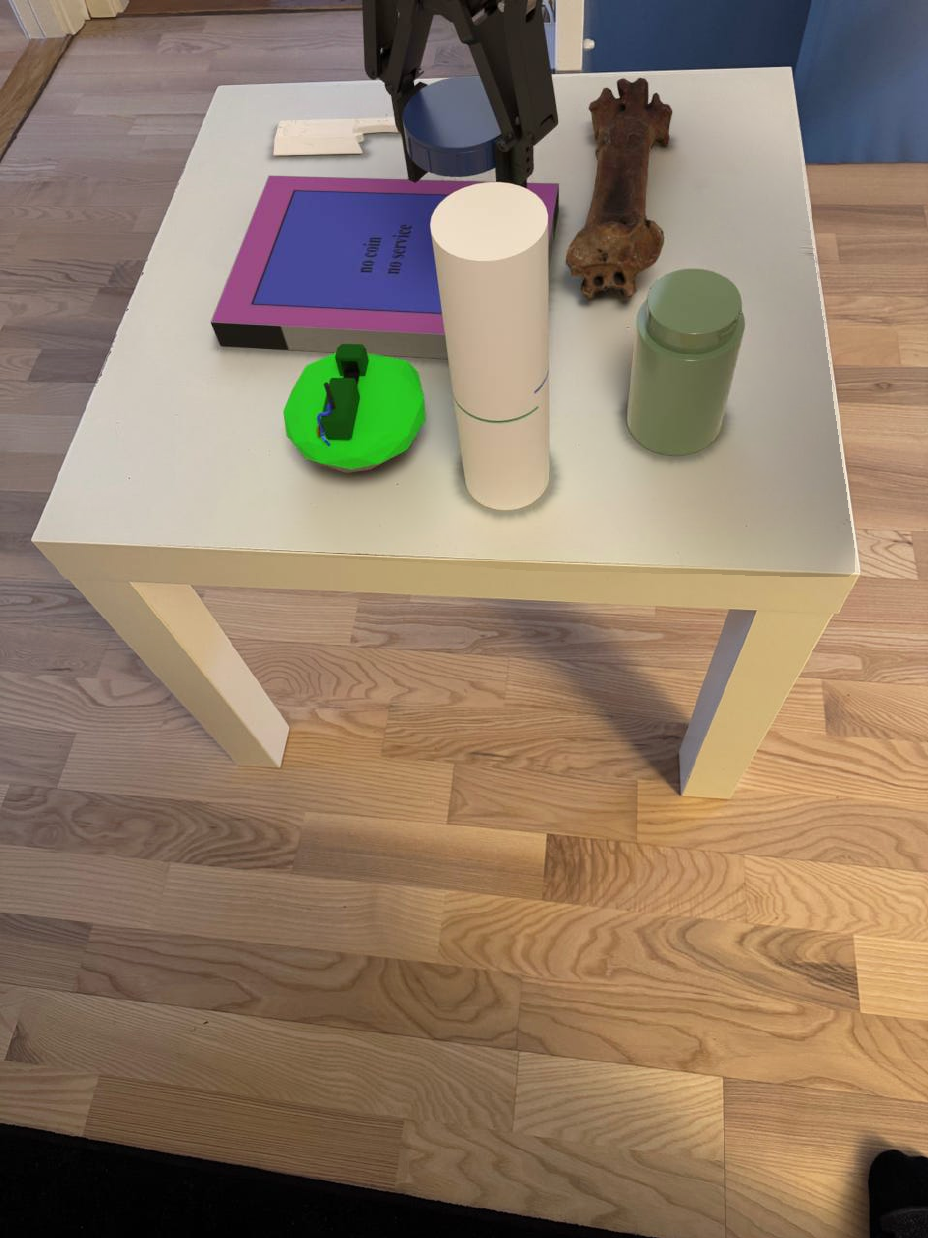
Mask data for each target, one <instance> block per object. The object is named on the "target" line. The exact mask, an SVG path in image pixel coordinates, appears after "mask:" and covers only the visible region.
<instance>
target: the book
mask: <svg viewBox="0 0 928 1238" xmlns="http://www.w3.org/2000/svg"><path fill="white" fill-rule="evenodd" d="M486 182H492V181H488V180H487V181H485V180H451V179H449V180H447V179H420V180H419V181H417V182H416V183H414V182H412V181H410V180H408V178H381V177H380V178H376V177H375V178H373V177H343V176H342V177H339V176H338V177H337V176H302V175H301V176H299V175H268V176H267V178H266V181H265V184H264V186H263V188H262V191H261V194H260V196H259V199H258V202H257V203H256V206H255V209H254V211H253V213H252V215H251V219H250V221H249V224H248V226H247V229H246V231H245V233H244V236H243V239H242V242H241V244H240V246H239V249H238V251H237V254H236V256H235V259H234V261H233V264H232V266H231V269H230V271H229V274H228V276H227V279H226V281H225V284H224V287H223V289H222V292H221V295H220V297H219V300H218V302H217V304H216V307H215V309H214V312H213V314H212V316H211V319H210V325H211V327H212V330H213V332H214V334H215V337H216V339H217V341H218V344H219V346H220V347H229V348H244V349H245V348H248V349H262V350H263V349H266V350H281V351H295V352H296V351H298V352H314V353H315V352H316V353H331V354H334V353H336V351H337V348H338V347H339V346H340V345H341V344H363V346H364V347H365V348H366V351H367V353H368V354H376V355H381V356H387V357H405V358H423V359H439V360H448V353H447V346H446V338H445V331H444V323H443V316H442V309H441V301H440V294H439V286H438V279H437V272H436V264H435V257H434V249H433V242H432V234H431V227H430V224H431V217H432V215H433V213H434V211H435V209H436V208H437V206H438V205H439V204H440V203H441V202H442V201H443V200H444V199H445V198H446V197H448V196H449V195H451V194H452V193H454V192H455V191H458V190H460V189H462V188H464V187H468V186H471V185H474V184H480V183H486ZM527 189H528V190H530V191H531V192H533V193H534V194H536V195H537V196H538V197H539V198H540V199H541V200H542V202H543V203H544V205H545V207H546V209H547V213H548V273H550V265H551V259H552V253H553V247H554V242H555V235H556V229H557V224H558V223H557V222H558V217H559V212H560V211H559V210H560V183H559V182H528V181H527Z"/></svg>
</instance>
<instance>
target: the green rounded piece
mask: <svg viewBox="0 0 928 1238" xmlns="http://www.w3.org/2000/svg"><path fill="white" fill-rule="evenodd" d="M282 414H283V420H284V426H285V433H286V436H287V438H288V439H289V440H290V442H291V443H292V444H293V445H294V446H295V447H296V449H297V450H298V451H299V452H300V453H301V455H302V456H303V457H304V458H305V459H306V460H307V461H311V462H313V463H317V464H320V465H323V466H326V467H329V468H331V469H333V470H337V471H339V472H342V473H346V474H347V473H355V472H363V471H371V470H373V469H374V468H376V467H378V466H380V465H381V464H384V463H385V462H387V461H389V460H391V459H393V458H395V457H396V456H399V455H400V454H402V453H404V452H406V451H408V449H409V447H410V446H411V445H412V442H414V439H415V438H416V437H417V435H418V433H419V432H420V430H421V428H422V427H423V425H424V424H425V422H426V406H425V396H424V391H423V387H422V383H421V379H420V374H419V371H418V369H416V368H415V367H414V365H412V364H411V363H410V362H409V361H408V360H407V359H403V358H398V357H393V356H384V355H376V354H368V353H367V351H366V348H365V347H364V346H363V344H341V345H340V346H339V347H338V348H337V351H336V353H331V354H329V355H327V356H325V357H322V358H320V359H317V360H315V361H313V362H310V363H308V364H306V365H305V367H304V369H303V371H302V373H301V374H300V376H299V377H298V379H297V380H296V382H295V384H294V386H293V387H292V389H291V391H290V394H289V397H288V398H287V401H286V403H285V405H284V408H283V410H282Z"/></svg>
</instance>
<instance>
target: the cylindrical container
mask: <svg viewBox="0 0 928 1238" xmlns="http://www.w3.org/2000/svg"><path fill="white" fill-rule="evenodd" d="M430 227H431V234H432V242H433V249H434V257H435V264H436V272H437V279H438V286H439V294H440V301H441V309H442V316H443V323H444V331H445V338H446V346H447V353H448V359H447V360H448V367H449V374H450V383H451V389H452V390H451V391H452V397H453V403H454V412H455V418H456V425H457V433H458V440H459V447H460V454H461V461H462V467H463V469H462V470H463V476H464V483H465V487H466V489H467V491H468V493H469V494H470V496H471V497H472V499H474V500H475V501H476V502H477V503H479V504H481V505H482V506H484V507H486V508H489V509H492V510H497V511H514V510H518V509H522V508H525V507H528V506H529V505H531V504H533V503H534V502H536V501H537V500H538V499H539V498H540V497H541V496H542V495H543V494H544V493H545V491H546V489H547V488H548V486H549V485H548V484H549V482H550V333H549V332H550V323H549V322H550V320H549V319H550V314H549V312H550V310H549V309H550V307H549V306H550V305H549V301H550V300H549V299H550V297H549V284H550V283H549V272H548V213H547V209H546V207H545V205H544V203H543V202H542V200H541V199H540V198H539V197H538V196H537V195H536V194H534V193H533V192H531V191H530V190H528V189H526V188H523V187H521V186H518V185H514V184H510V183H503V182H496V181H491V182H486V183H480V184H474V185H471V186H468V187H464V188H462V189H460V190H458V191H455V192H454V193H452V194H451V195H449V196H448V197H446V198H445V199H444V200H443V201H442V202H441V203H440V204H439V205H438V206H437V208H436V209H435V211H434V213H433V215H432V217H431V224H430Z"/></svg>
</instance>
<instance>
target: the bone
mask: <svg viewBox="0 0 928 1238" xmlns="http://www.w3.org/2000/svg"><path fill="white" fill-rule="evenodd" d="M649 88H650V87H649V82H648V80H647V79H646V78H645V77H638V78H637V79H636V80H634V81H630V80H628V79H626V78H620V79H617V80H616V89H617V92H618V97H615V96H614V94H613V92H612V90H611V88H609V87H603V88H602V91H601V93H600V95H599V97H598V98H597V99H595V100H593V101H591V102H590V103H589V104H588V105H589V106H588V111H589V112H590V114H591V122H592V130H593V136H594V139H595V140H596V145H595V151H594V152H595V158H596V161H597V163H596V164H597V165H596V172H595V178H594V179H595V180H594V185H593V192H592V197H591V202H590V206H589V210H588V213H587V217H586V221H585V223H584V226H583V228H581V229H580V230H579V231H578V232H577V233H576V235H575V237H573V239H572V241H570V244H569V245H568V248H567V250H566V256H565V257H566V258H565V265H566V266H567V267H568V268H569V269H570V273H571V276H572V277H582V281H581V283H580V286H579V290H580V292H581V294H582V295H583V296H584V297H586V298H588V299H594V298H595V297H596V296H597V295H598V292H604V291H607V290H608V289H609V288H612V289H614V290H616V291H617V290H618V291H620V294H621V296H623V297H624V298H625V299H626V298H627V299H628V298H631V297H633V296H634V295H635V294H636V293H637V292H638V291H637V290H638V289H637V285H636V280H635V278H636V276H637V275H638V274H640V273H642V272H644V271H646V270H647V269H650V268H651V267H652V266H653V265H654V264H656V263H657V262H658V259H659V258H660V256H661V254H662V251H663V247H664V244H665V234H664V230H663V228H662V227H661V226H660V225H659V224H658V223H657V222H656V221H655V220H650V219H648V216H647V212H646V208H647V191H648V190H647V189H648V177H649V175H648V174H649V164H650V163H649V162H650V151H651V147H652V145H653V144H654V143H655V142H656V143H658V144H660V145H661V146H663V147H668V146H669V144H670V125H671V120H672V115H673V109H672V107H671V105H669V104H668V103H663V101H662V100H661V97H660V94H659V93H658V92H653V94H652V98H651V101H650V102H649V97H650V96H649V95H650V93H649V92H650V91H649Z"/></svg>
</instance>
